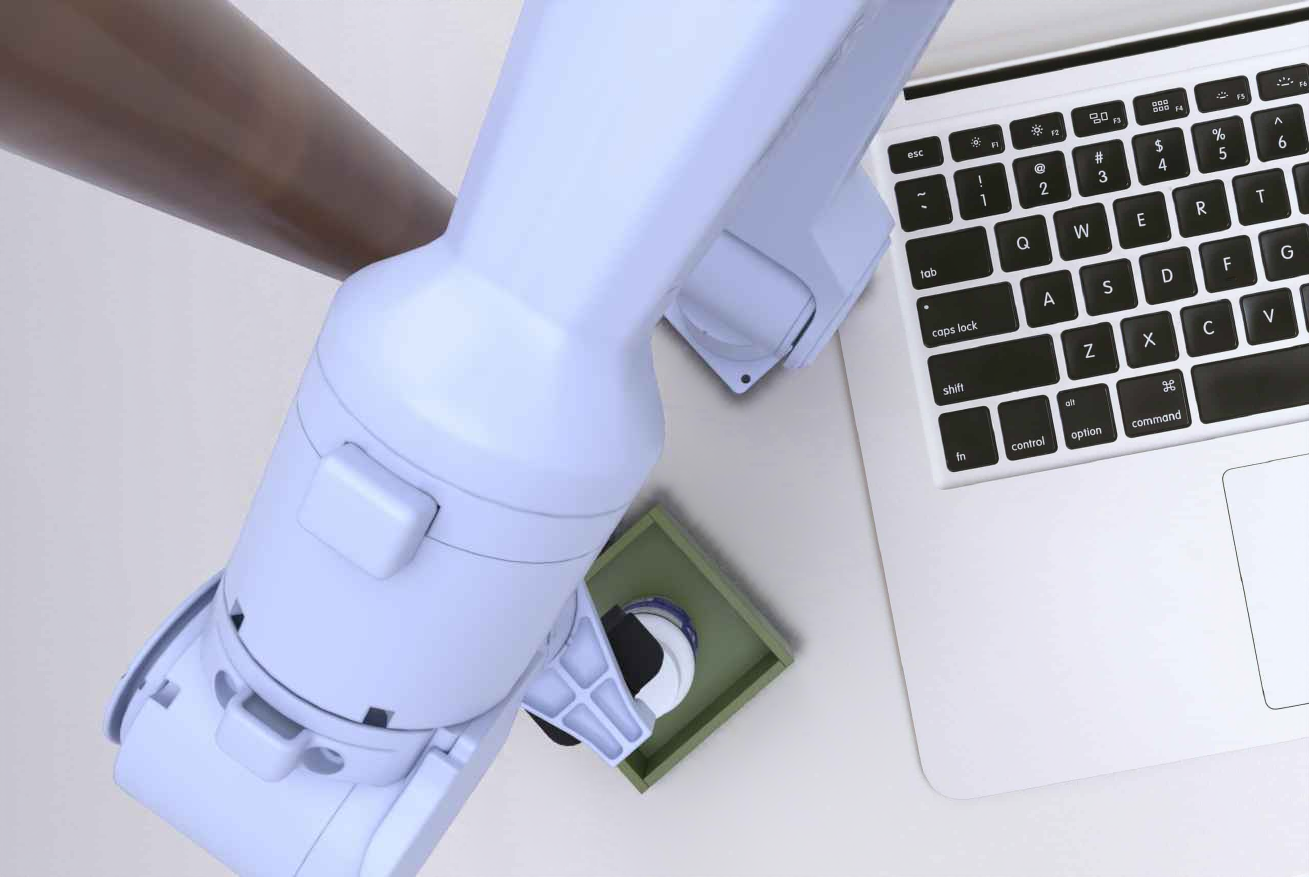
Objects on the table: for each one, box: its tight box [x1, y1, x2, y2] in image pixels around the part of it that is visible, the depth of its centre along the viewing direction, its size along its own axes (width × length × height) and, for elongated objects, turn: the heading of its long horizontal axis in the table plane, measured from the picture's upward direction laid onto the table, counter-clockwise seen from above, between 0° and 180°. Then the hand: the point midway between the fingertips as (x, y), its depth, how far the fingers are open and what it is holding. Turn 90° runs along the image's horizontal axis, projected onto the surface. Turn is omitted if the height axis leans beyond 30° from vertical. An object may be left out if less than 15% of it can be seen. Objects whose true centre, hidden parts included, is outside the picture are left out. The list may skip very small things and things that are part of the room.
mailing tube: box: [0, 0, 457, 283], centre depth 27 cm, size 5×5×48 cm
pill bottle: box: [622, 596, 698, 719], centre depth 45 cm, size 5×5×9 cm
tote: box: [584, 501, 795, 795], centre depth 49 cm, size 11×11×4 cm
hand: (550, 561), depth 40 cm, fingers open, 7 cm apart
